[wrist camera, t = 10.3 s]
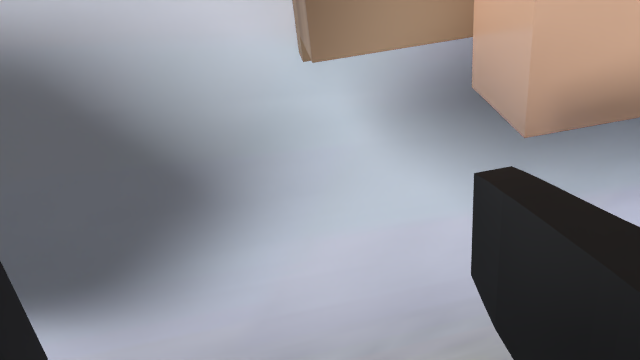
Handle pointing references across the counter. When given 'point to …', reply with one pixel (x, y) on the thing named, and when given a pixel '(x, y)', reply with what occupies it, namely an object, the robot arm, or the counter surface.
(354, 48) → the brown wooden stand
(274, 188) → the counter surface
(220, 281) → the counter surface
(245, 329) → the counter surface
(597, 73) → the clay strip
